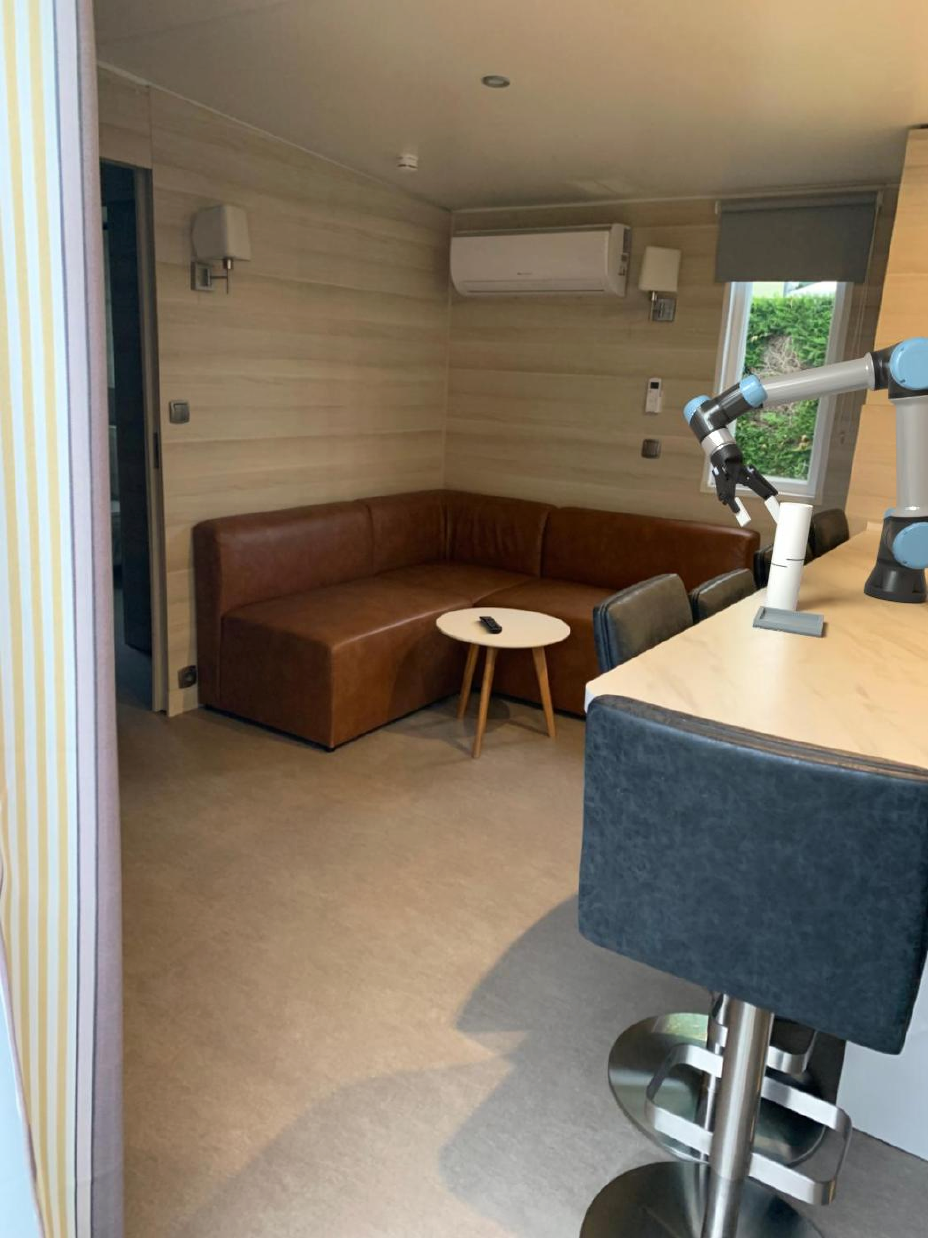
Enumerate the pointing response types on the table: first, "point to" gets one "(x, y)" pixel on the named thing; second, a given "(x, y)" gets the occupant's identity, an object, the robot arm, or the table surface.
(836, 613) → the table surface
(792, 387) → the robot arm
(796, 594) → the cylindrical container
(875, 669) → the table surface
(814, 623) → the tray
